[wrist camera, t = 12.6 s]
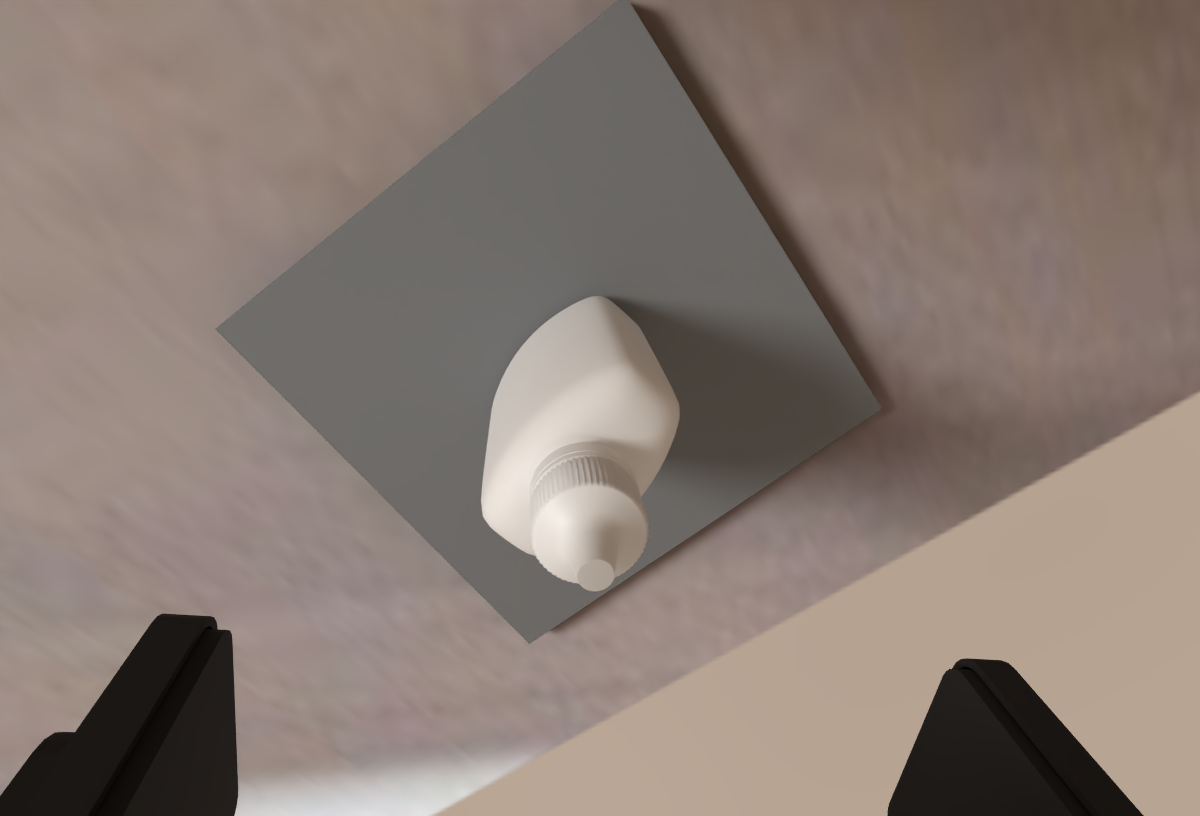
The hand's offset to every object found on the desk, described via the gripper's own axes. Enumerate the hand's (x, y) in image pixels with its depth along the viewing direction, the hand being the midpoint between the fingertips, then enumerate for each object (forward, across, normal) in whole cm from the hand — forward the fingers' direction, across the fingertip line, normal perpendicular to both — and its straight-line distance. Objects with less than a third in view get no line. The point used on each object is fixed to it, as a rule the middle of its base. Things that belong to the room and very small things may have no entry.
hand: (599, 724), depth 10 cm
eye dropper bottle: (+16, -1, +1) cm, 16 cm away
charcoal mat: (+17, -1, +1) cm, 17 cm away
